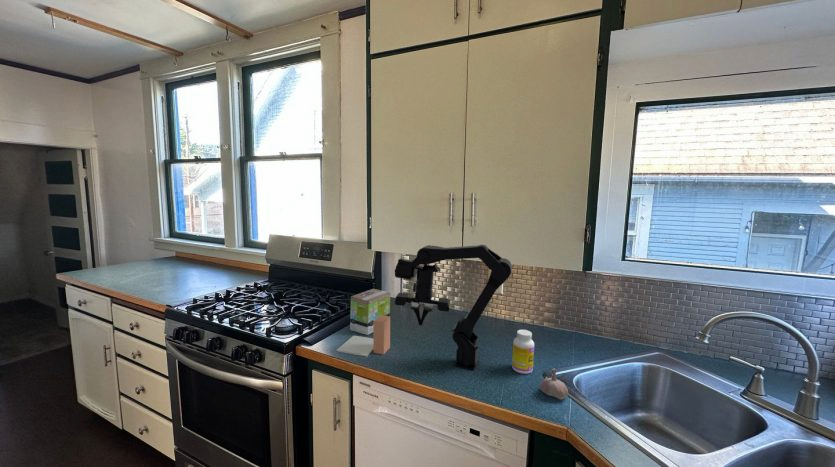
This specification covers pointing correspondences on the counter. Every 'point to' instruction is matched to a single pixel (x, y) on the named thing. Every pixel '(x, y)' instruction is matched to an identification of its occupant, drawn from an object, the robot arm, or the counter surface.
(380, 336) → the block
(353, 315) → the tea box
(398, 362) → the counter surface
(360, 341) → the mat
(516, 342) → the supplement bottle
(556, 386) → the garlic bulb
